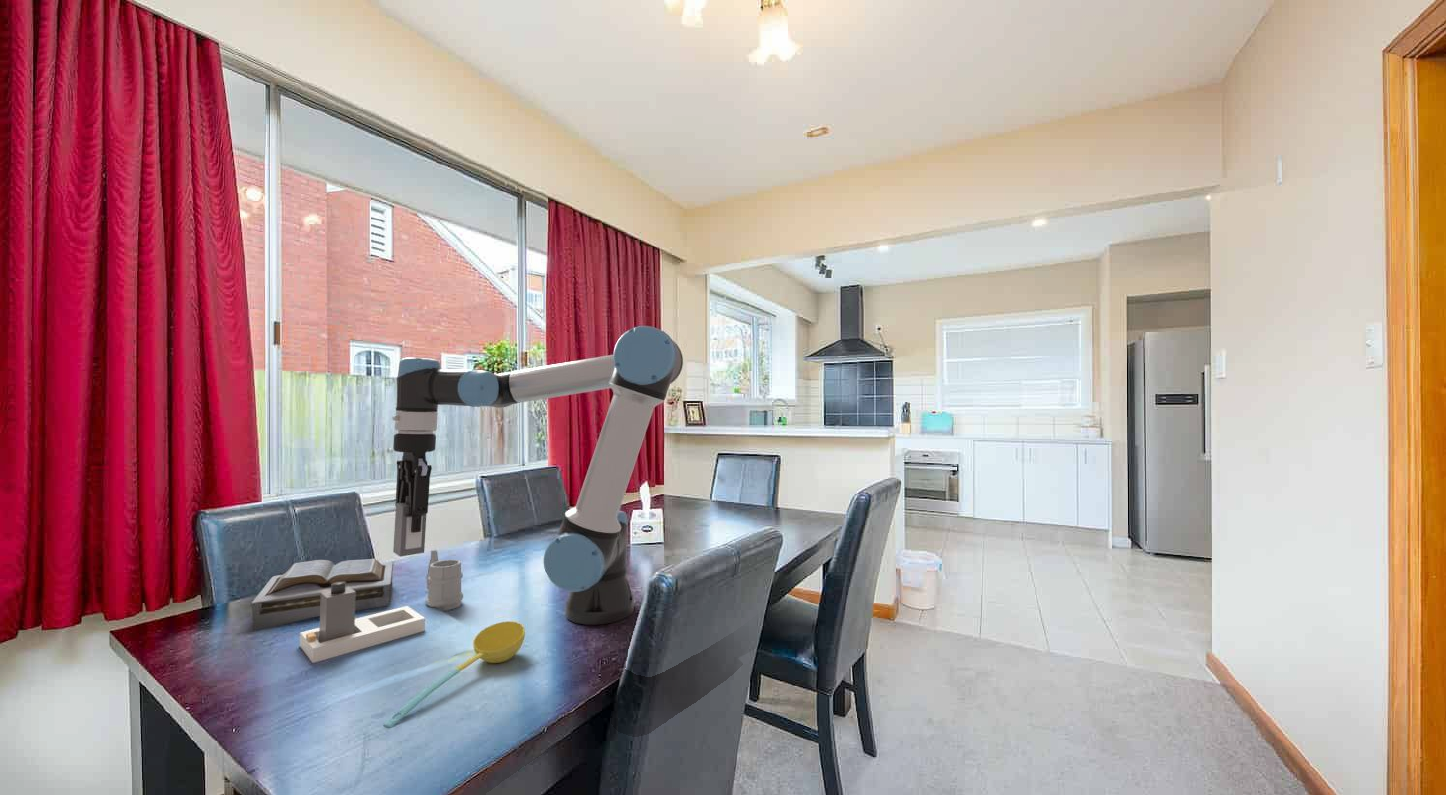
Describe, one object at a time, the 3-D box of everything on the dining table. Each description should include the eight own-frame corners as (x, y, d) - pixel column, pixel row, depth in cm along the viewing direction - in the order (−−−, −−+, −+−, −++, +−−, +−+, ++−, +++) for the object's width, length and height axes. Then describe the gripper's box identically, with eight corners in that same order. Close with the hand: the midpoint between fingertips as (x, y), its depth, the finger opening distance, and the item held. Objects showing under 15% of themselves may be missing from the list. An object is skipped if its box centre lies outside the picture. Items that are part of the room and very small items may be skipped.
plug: (424, 552, 106) (427, 496, 106) (400, 556, 102) (403, 498, 103) (416, 548, 109) (420, 493, 109) (393, 552, 105) (396, 495, 106)
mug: (435, 615, 114) (437, 560, 114) (411, 603, 121) (412, 551, 121) (469, 604, 120) (470, 553, 120) (444, 594, 127) (445, 545, 127)
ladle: (537, 647, 97) (534, 619, 96) (414, 766, 73) (408, 731, 72) (500, 638, 100) (497, 611, 99) (369, 749, 76) (363, 716, 75)
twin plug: (353, 645, 96) (355, 583, 97) (324, 653, 93) (327, 589, 93) (347, 638, 99) (349, 578, 100) (318, 646, 96) (321, 583, 96)
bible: (280, 597, 125) (282, 556, 125) (408, 585, 134) (409, 547, 134) (227, 636, 103) (230, 586, 103) (384, 618, 112) (385, 573, 113)
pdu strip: (424, 635, 103) (425, 614, 103) (312, 668, 89) (313, 643, 90) (406, 622, 110) (407, 602, 110) (299, 651, 96) (300, 628, 96)
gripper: (382, 430, 109) (375, 539, 109) (409, 434, 98) (402, 557, 97) (420, 430, 115) (414, 534, 114) (451, 434, 103) (444, 550, 102)
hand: (408, 545), depth 105 cm, fingers closed on plug, 4 cm apart
